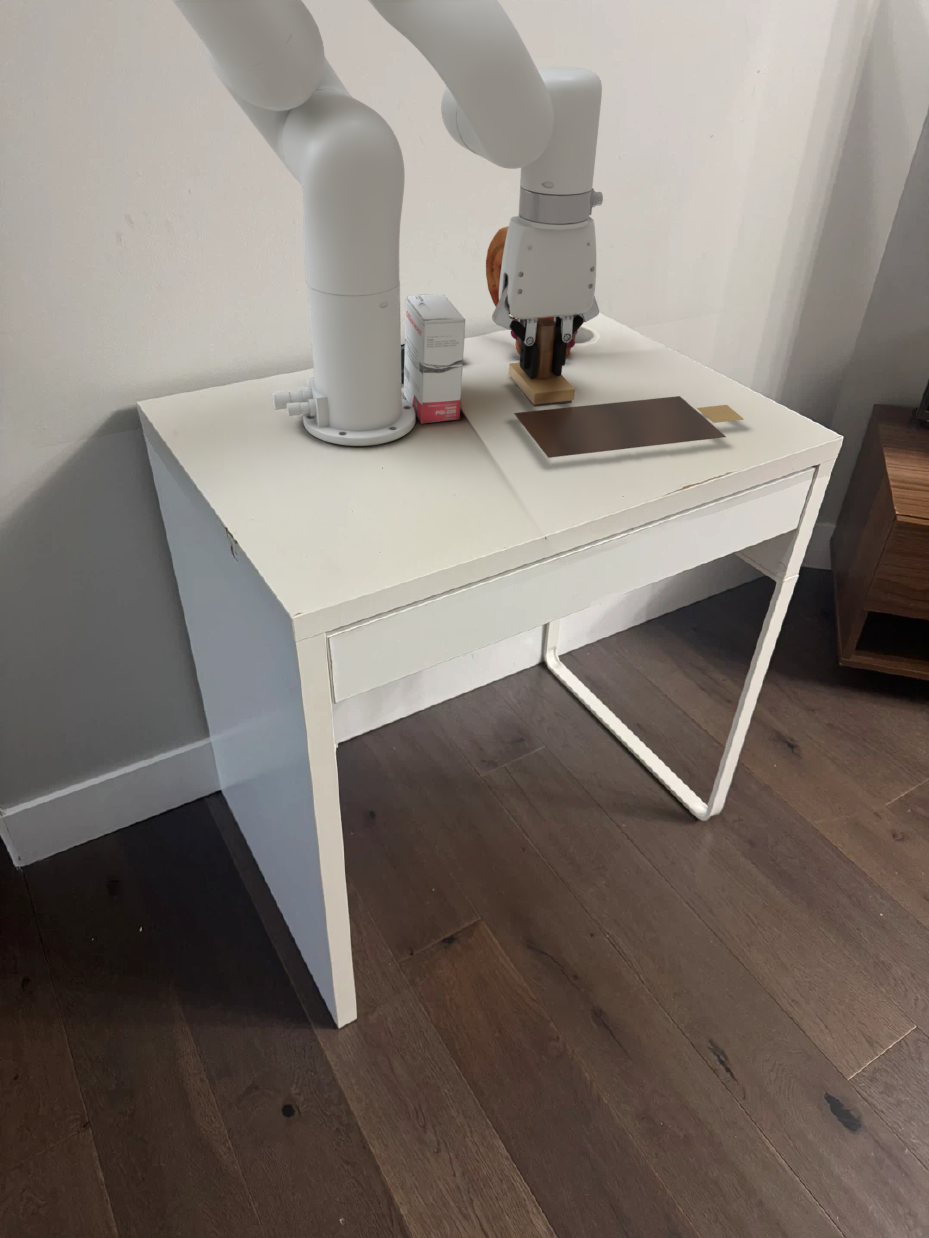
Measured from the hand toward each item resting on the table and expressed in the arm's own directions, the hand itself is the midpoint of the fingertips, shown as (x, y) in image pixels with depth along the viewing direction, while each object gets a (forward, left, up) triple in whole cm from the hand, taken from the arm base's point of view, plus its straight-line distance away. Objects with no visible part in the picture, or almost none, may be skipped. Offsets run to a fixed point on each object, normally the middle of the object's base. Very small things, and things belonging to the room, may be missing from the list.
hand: (541, 371), depth 104 cm
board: (+5, -11, -3) cm, 13 cm away
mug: (+4, +14, -4) cm, 15 cm away
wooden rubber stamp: (0, 0, -3) cm, 3 cm away
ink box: (-13, 0, -4) cm, 14 cm away
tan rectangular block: (+18, -11, -3) cm, 21 cm away
